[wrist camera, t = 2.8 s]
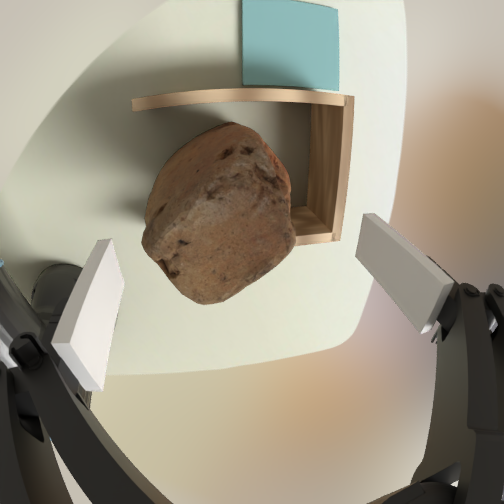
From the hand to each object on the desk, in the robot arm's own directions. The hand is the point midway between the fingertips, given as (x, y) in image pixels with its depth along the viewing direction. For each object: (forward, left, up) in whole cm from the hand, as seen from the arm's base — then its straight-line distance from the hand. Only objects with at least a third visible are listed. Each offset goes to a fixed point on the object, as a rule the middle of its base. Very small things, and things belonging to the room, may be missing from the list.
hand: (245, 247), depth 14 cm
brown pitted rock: (0, 0, -21) cm, 21 cm away
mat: (+10, +15, -21) cm, 28 cm away
